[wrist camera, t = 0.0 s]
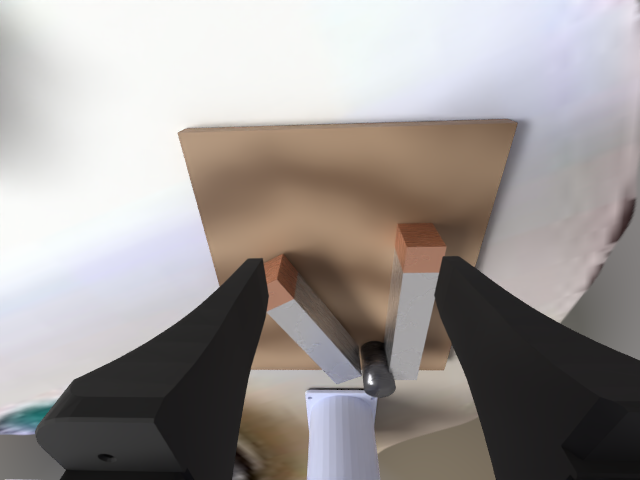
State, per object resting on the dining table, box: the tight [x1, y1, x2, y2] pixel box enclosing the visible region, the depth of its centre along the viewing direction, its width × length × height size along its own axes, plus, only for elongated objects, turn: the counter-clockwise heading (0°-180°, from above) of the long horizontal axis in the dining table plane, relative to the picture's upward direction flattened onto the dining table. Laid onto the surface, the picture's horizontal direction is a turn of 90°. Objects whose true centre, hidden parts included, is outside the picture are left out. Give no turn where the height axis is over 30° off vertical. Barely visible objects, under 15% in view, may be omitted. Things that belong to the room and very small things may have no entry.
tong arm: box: [264, 254, 362, 384], centre depth 24 cm, size 12×2×3 cm, turn 32°
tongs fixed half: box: [360, 223, 447, 398], centre depth 23 cm, size 15×4×4 cm, turn 2°
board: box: [178, 119, 518, 370], centre depth 24 cm, size 23×20×1 cm
